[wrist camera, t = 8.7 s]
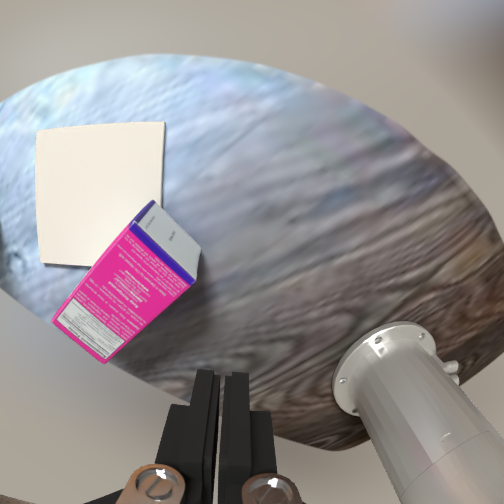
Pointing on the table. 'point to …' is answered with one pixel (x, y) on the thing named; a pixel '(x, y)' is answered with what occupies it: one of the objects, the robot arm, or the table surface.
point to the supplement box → (130, 283)
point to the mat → (93, 185)
